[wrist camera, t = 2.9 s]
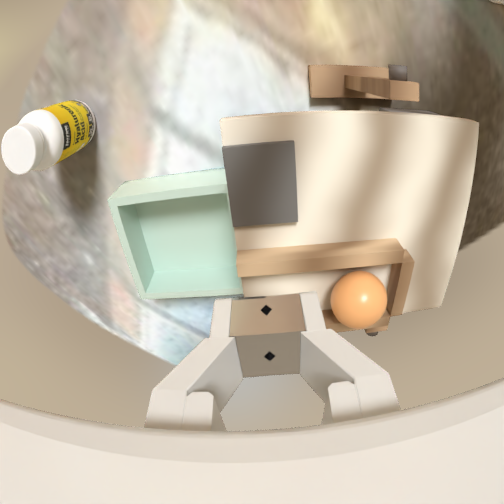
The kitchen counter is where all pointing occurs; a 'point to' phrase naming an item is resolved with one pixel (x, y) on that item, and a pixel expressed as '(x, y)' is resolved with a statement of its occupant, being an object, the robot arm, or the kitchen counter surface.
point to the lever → (349, 202)
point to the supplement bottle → (47, 136)
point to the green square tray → (178, 234)
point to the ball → (358, 299)
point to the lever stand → (362, 91)
